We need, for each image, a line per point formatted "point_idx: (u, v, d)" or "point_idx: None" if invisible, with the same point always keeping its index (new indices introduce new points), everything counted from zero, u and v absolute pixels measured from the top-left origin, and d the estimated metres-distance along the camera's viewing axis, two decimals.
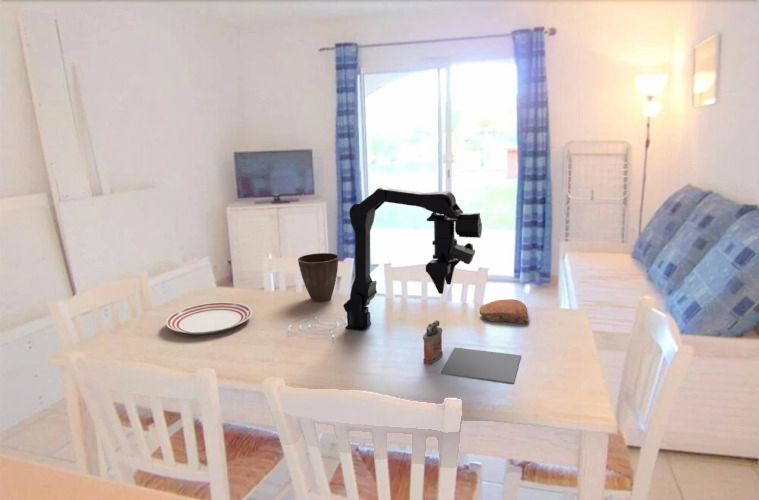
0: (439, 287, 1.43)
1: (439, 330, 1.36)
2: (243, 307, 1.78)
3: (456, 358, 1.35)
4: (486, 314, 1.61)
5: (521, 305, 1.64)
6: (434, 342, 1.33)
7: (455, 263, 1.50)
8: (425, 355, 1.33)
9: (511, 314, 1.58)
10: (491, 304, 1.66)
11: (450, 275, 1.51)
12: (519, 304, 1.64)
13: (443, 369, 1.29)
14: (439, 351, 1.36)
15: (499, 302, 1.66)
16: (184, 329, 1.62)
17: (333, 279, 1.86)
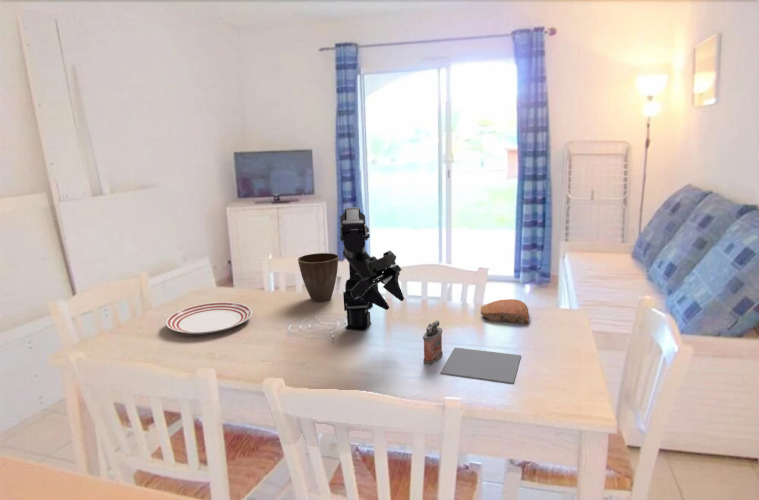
0: (382, 304, 1.37)
1: (439, 330, 1.36)
2: (243, 307, 1.78)
3: (456, 358, 1.35)
4: (487, 314, 1.61)
5: (522, 305, 1.64)
6: (434, 342, 1.33)
7: (393, 278, 1.44)
8: (425, 355, 1.33)
9: (512, 314, 1.58)
10: (492, 304, 1.66)
11: (397, 291, 1.44)
12: (520, 304, 1.64)
13: (443, 369, 1.29)
14: (439, 351, 1.36)
15: (500, 302, 1.67)
16: (184, 329, 1.62)
17: (333, 279, 1.86)
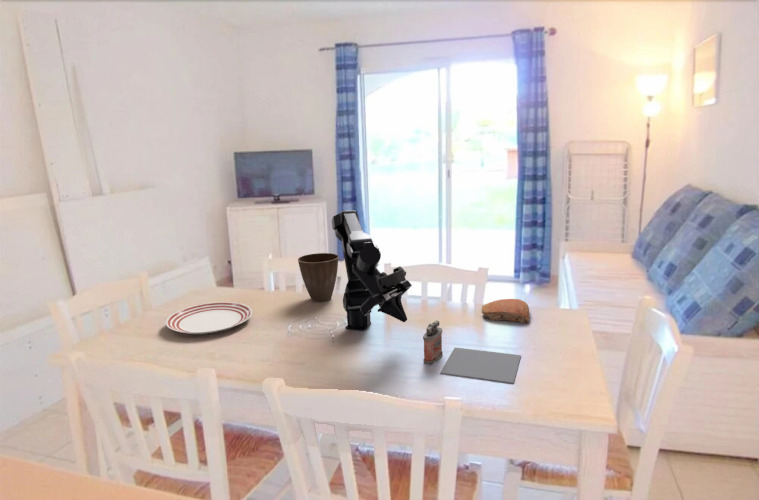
0: (399, 316, 1.39)
1: (439, 330, 1.36)
2: (243, 307, 1.78)
3: (456, 358, 1.35)
4: (487, 313, 1.62)
5: (523, 305, 1.64)
6: (434, 342, 1.33)
7: (396, 297, 1.40)
8: (425, 355, 1.33)
9: (512, 314, 1.59)
10: (493, 303, 1.67)
11: None
12: (521, 304, 1.65)
13: (443, 369, 1.29)
14: (439, 351, 1.36)
15: (501, 301, 1.67)
16: (184, 329, 1.62)
17: (333, 279, 1.86)
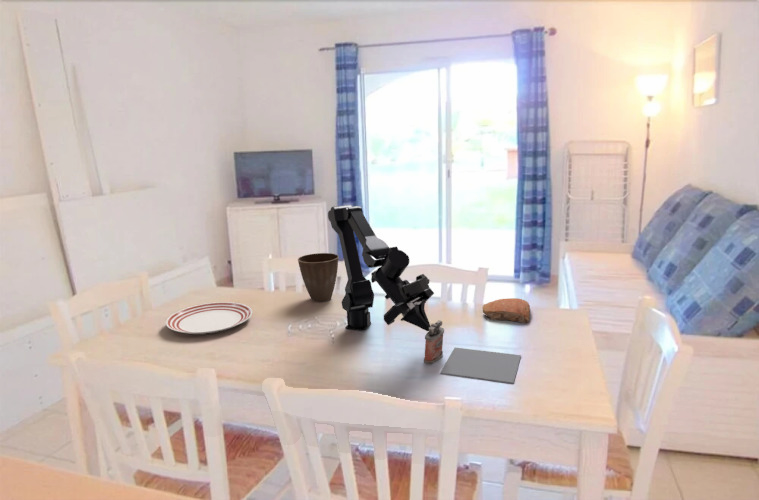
0: (423, 325, 1.35)
1: (441, 330, 1.36)
2: (243, 307, 1.78)
3: (456, 358, 1.35)
4: (487, 312, 1.63)
5: (524, 304, 1.64)
6: (436, 342, 1.33)
7: (419, 306, 1.36)
8: (426, 355, 1.33)
9: (512, 313, 1.60)
10: (494, 302, 1.67)
11: None
12: (522, 303, 1.65)
13: (443, 369, 1.29)
14: (440, 351, 1.36)
15: (502, 301, 1.68)
16: (184, 329, 1.62)
17: (333, 279, 1.86)
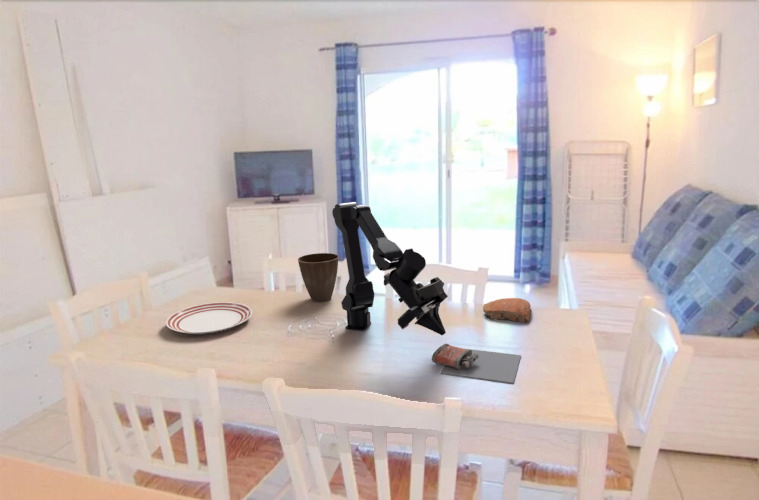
0: (437, 329, 1.33)
1: None
2: (243, 307, 1.78)
3: None
4: (488, 311, 1.64)
5: (524, 304, 1.65)
6: None
7: (434, 309, 1.34)
8: (440, 359, 1.31)
9: (512, 313, 1.60)
10: (495, 302, 1.68)
11: None
12: (522, 303, 1.65)
13: (443, 369, 1.29)
14: None
15: (503, 300, 1.68)
16: (184, 329, 1.62)
17: (333, 279, 1.86)
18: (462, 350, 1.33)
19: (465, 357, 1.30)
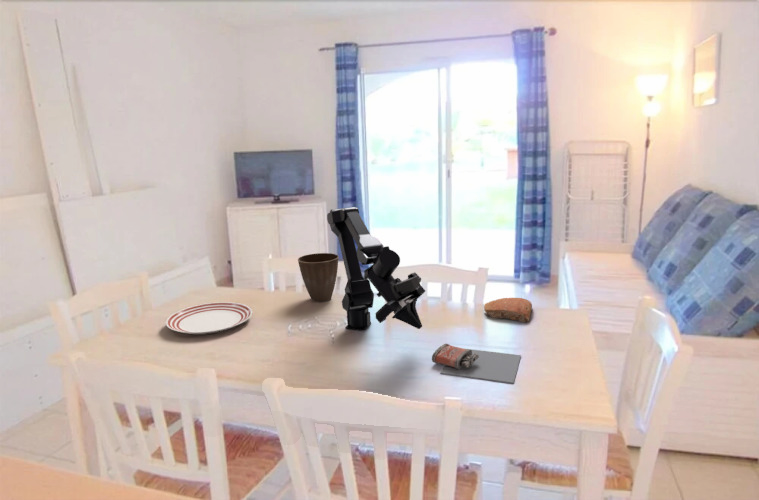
0: (414, 323, 1.37)
1: None
2: (243, 307, 1.78)
3: None
4: (488, 311, 1.64)
5: (525, 304, 1.65)
6: None
7: (411, 304, 1.38)
8: (440, 359, 1.31)
9: (512, 312, 1.60)
10: (496, 301, 1.68)
11: None
12: (523, 303, 1.66)
13: (443, 369, 1.29)
14: None
15: (504, 300, 1.69)
16: (184, 329, 1.62)
17: (333, 279, 1.86)
18: (462, 350, 1.33)
19: (465, 357, 1.30)
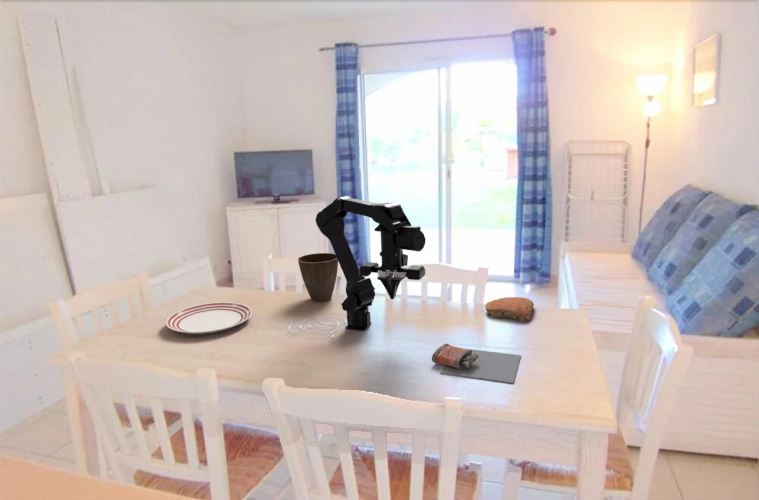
0: (394, 293, 1.49)
1: None
2: (243, 307, 1.78)
3: None
4: (489, 310, 1.65)
5: (526, 303, 1.65)
6: None
7: (392, 275, 1.50)
8: (440, 359, 1.31)
9: (513, 311, 1.61)
10: (497, 301, 1.69)
11: None
12: (525, 302, 1.66)
13: (443, 369, 1.29)
14: None
15: (506, 299, 1.69)
16: (184, 329, 1.62)
17: (333, 279, 1.86)
18: (462, 350, 1.33)
19: (465, 357, 1.30)
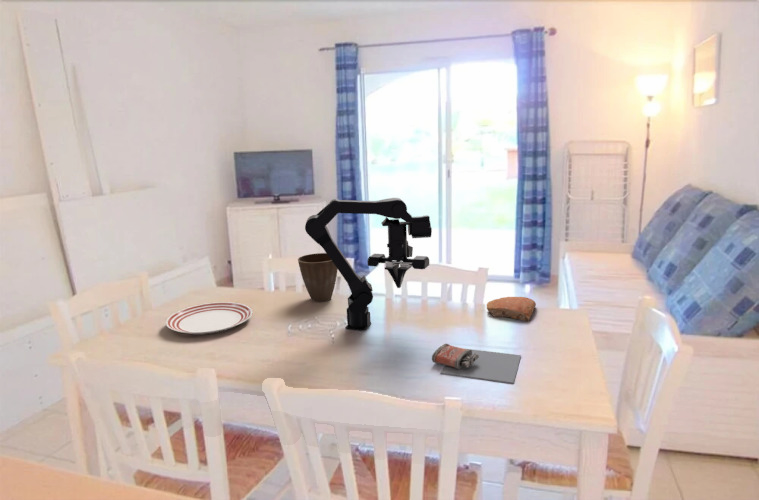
0: (401, 282, 1.59)
1: None
2: (243, 307, 1.78)
3: None
4: (490, 309, 1.66)
5: (527, 303, 1.66)
6: None
7: (398, 266, 1.61)
8: (440, 359, 1.31)
9: (513, 311, 1.61)
10: (499, 300, 1.70)
11: None
12: (526, 302, 1.66)
13: (443, 369, 1.29)
14: None
15: (507, 298, 1.70)
16: (184, 329, 1.62)
17: (333, 279, 1.86)
18: (462, 350, 1.33)
19: (465, 357, 1.30)
